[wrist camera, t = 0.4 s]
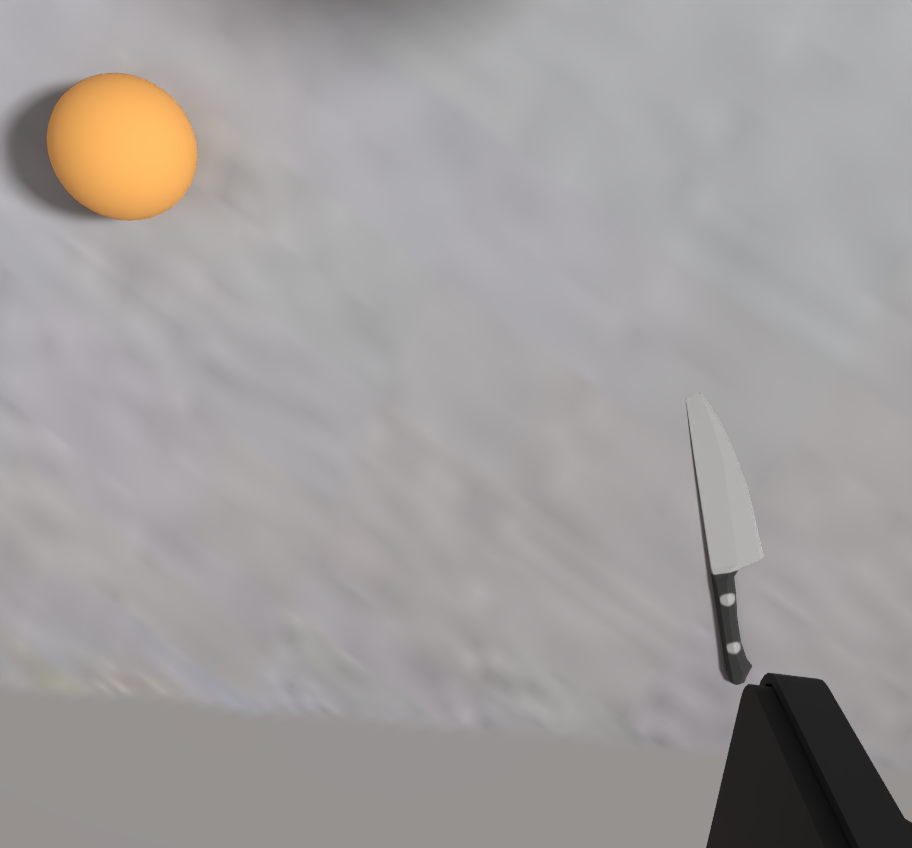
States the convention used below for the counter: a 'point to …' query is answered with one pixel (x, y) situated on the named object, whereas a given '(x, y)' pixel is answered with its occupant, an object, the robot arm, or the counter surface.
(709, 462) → the chef's knife
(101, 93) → the ball
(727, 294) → the counter surface
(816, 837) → the robot arm
